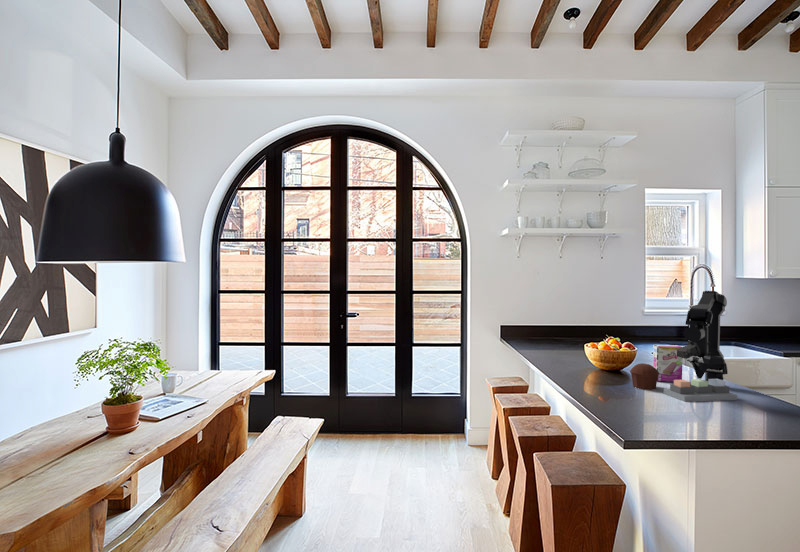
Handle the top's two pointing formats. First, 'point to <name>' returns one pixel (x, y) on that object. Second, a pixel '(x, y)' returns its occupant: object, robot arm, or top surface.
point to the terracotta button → (681, 383)
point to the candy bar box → (667, 363)
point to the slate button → (716, 382)
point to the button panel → (700, 393)
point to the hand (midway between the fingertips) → (699, 378)
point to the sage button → (699, 383)
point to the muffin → (644, 376)
